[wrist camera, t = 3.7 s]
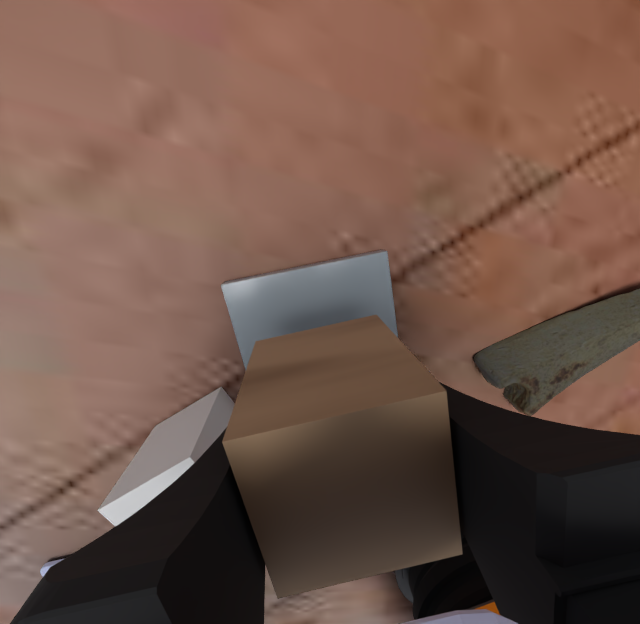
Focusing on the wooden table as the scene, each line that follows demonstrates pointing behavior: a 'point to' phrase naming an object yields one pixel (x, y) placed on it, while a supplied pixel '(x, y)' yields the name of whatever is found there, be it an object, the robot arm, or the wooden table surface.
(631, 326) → the bone
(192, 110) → the wooden table surface
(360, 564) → the walnut block
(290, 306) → the coaster
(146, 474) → the grey block
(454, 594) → the sander
